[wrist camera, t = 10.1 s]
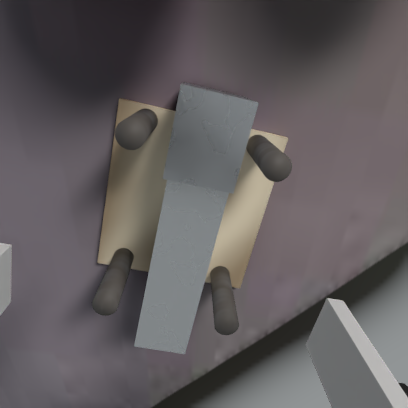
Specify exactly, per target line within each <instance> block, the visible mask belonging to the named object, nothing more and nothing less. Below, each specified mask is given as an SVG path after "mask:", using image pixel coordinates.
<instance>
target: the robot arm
mask: <svg viewBox="0 0 408 408" xmlns="http://www.w3.org/2000/svg"><path fill="white" fill-rule="evenodd" d="M11 256H12V245H9V244H3V243H0V315H1V314H2V313H3V312H4V310H5V309H6V308H7V306H8V305H9V304H10V302H11ZM306 347H307V350H308V352H309V354H310V357H311V359H312V361H313V364H314V366H315V369H316V371H317V373H318V376H319V378H320V380H321V383H322V385H323V387H324V389H325V392H326V395H327V397H328V399H329V402H330V404H331V406H332V408H408V387H407V386H406V385H405V384H403V383H398V382H397V381H396V379H395V378H394V376H393V375H392V373H391V372H390V370H389V369H388V367H387V366H386V364H385V363H384V361H383V360H382V358H381V357H380V355H379V354H378V352H377V351H376V349H375V348H374V347H373V345H372V343H371V342H370V340H369V339H368V337H367V336H366V334H365V333H364V331H363V330H362V328H361V327H360V325H359V324H358V322H357V321H356V319H355V318H354V316H353V315H352V313H351V312H350V310H349V309H348V307H347V306H346V304H345V303H344V301H341V300H335V299H330V298H327V299H326V301H325V304H324V306H323V308H322V310H321V313H320V315H319V317H318V319H317V321H316V324H315V326H314V328H313V330H312V332H311V334H310V337H309V339H308V341H307V343H306Z"/></svg>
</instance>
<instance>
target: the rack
mask: <svg viewBox="0 0 408 408" xmlns="http://www.w3.org/2000/svg"><path fill="white" fill-rule="evenodd" d="M175 112H176V111H173V110H169V109H165V108H161V107H156V106H152V105H148V104H143V103H139V102H135V101H131V100H126V99H122V98H120V99H119V103H118V111H117V118H116V126H115V134H114V141H113V149H112V156H111V164H110V171H109V179H108V186H107V194H106V202H105V209H104V217H103V224H102V232H101V239H100V247H99V255H98V262H97V263H101V264H107V265H109V266H108V268H107V271H106V273H105V275H104V277H103V279H102V282H101V284H100V286H99V288H98V291H97V293H96V295H95V297H94V299H93V302H92V307H93V309H94V310H95V311H96V312H97V313H98V314H100V315H111V314H113V313H115V312H116V310H117V308H118V305H119V302H120V299H121V296H122V293H123V290H124V287H125V284H126V281H127V278H128V275H129V272H130V269H135V270H140V271H146V272H149V268H150V263H151V258H152V253H153V248H154V243H155V238H156V233H157V228H158V223H159V218H160V213H161V208H162V203H163V198H164V193H165V188H166V183H167V180H166V179H163V174H164V169H165V164H166V159H167V153H168V148H169V143H170V138H171V133H172V128H173V122H174V117H175ZM287 140H288V138H287V137H284V136H280V135H275V134H271V133H267V132H263V131H258V130H254V129H251V132H250V136H249V139H248V143H247V146H246V150H245V154H244V157H243V161H242V164H241V168H240V172H239V175H238V179H237V182H236V186H235V189H234V193H233V194H232V193H229V195H228V198H227V202H226V206H225V209H224V213H223V217H222V220H221V224H220V228H219V231H218V235H217V239H216V242H215V246H214V250H213V253H212V257H211V261H210V264H209V268H208V272H207V275H206V279H205V282H207V283H211V289H212V301H213V313H214V325H215V329H216V331H217V332H218V333H220V334H222V335H230V334H233V333H234V332H236V331H237V329H238V327H239V323H238V317H237V312H236V306H235V301H234V295H233V290H232V287H235V288H240V286H241V283H242V280H243V277H244V274H245V271H246V268H247V265H248V262H249V258H250V255H251V252H252V249H253V246H254V243H255V240H256V237H257V234H258V231H259V227H260V224H261V221H262V218H263V215H264V212H265V209H266V206H267V203H268V199H269V196H270V193H271V190H272V187H273V184H274V182H279V181H282V180H284V179H285V178H287V177H288V176H289V174H290V172H291V169H292V163H291V160H290V159H289V157H288V156H286V155H285V154H284V150H285V147H286V144H287Z"/></svg>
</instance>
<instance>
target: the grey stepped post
mask: <svg viewBox="0 0 408 408" xmlns="http://www.w3.org/2000/svg"><path fill="white" fill-rule="evenodd" d="M257 107H258V102H256V101H253V100H251V99H248V98H246V97H243V96H240V95H236V94H232V93H228V92H224V91H220V90H215V89H211V88H207V87H203V86H199V85H195V84H191V83H187V82H183V83H181V86H180V91H179V97H178V102H177V107H176V112H175V117H174V122H173V128H172V133H171V138H170V143H169V148H168V153H167V159H166V164H165V169H164V174H163V179H166V180H167V183H166V188H165V193H164V198H163V203H162V208H161V213H160V218H159V223H158V228H157V233H156V238H155V243H154V248H153V253H152V258H151V263H150V268H149V273H148V279H147V284H146V289H145V294H144V299H143V304H142V309H141V314H140V319H139V324H138V329H137V334H136V339H135V344H134V346H135V347H141V348H148V349H154V350H161V351H167V352H174V353H180V354H185V352H186V348H187V345H188V341H189V337H190V334H191V330H192V326H193V323H194V319H195V315H196V312H197V308H198V304H199V301H200V297H201V293H202V290H203V286H204V282H205V279H206V275H207V272H208V268H209V264H210V261H211V257H212V253H213V250H214V246H215V242H216V239H217V235H218V231H219V228H220V224H221V220H222V217H223V213H224V209H225V206H226V202H227V198H228V195H229V193H232V194H233V193H234V189H235V186H236V182H237V179H238V175H239V172H240V168H241V164H242V161H243V157H244V154H245V150H246V146H247V143H248V139H249V136H250V132H251V128H252V125H253V121H254V118H255V114H256V111H257Z"/></svg>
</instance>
